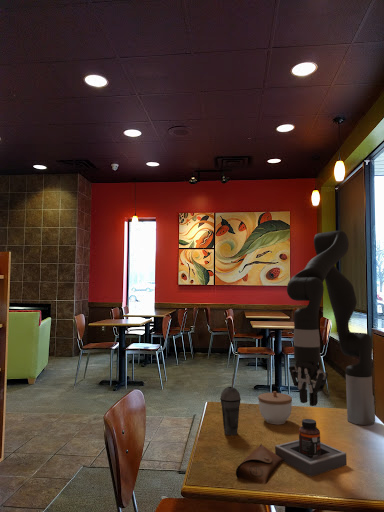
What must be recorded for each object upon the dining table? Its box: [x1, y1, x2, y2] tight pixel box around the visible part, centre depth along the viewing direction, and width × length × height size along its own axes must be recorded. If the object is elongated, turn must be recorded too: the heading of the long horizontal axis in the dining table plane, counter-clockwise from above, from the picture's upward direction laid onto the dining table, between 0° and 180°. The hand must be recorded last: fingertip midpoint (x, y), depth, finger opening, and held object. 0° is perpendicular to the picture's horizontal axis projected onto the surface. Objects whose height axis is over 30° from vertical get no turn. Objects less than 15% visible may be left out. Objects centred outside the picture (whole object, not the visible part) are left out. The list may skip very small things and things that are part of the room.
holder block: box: [274, 439, 347, 477], centre depth 113 cm, size 14×14×3 cm
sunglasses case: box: [235, 443, 284, 485], centre depth 109 cm, size 18×7×7 cm
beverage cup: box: [220, 373, 242, 436], centre depth 136 cm, size 7×7×20 cm
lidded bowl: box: [257, 390, 293, 425], centre depth 148 cm, size 13×13×11 cm
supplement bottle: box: [298, 418, 321, 458], centre depth 113 cm, size 6×6×11 cm
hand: (308, 403), depth 114 cm, fingers open, 3 cm apart
